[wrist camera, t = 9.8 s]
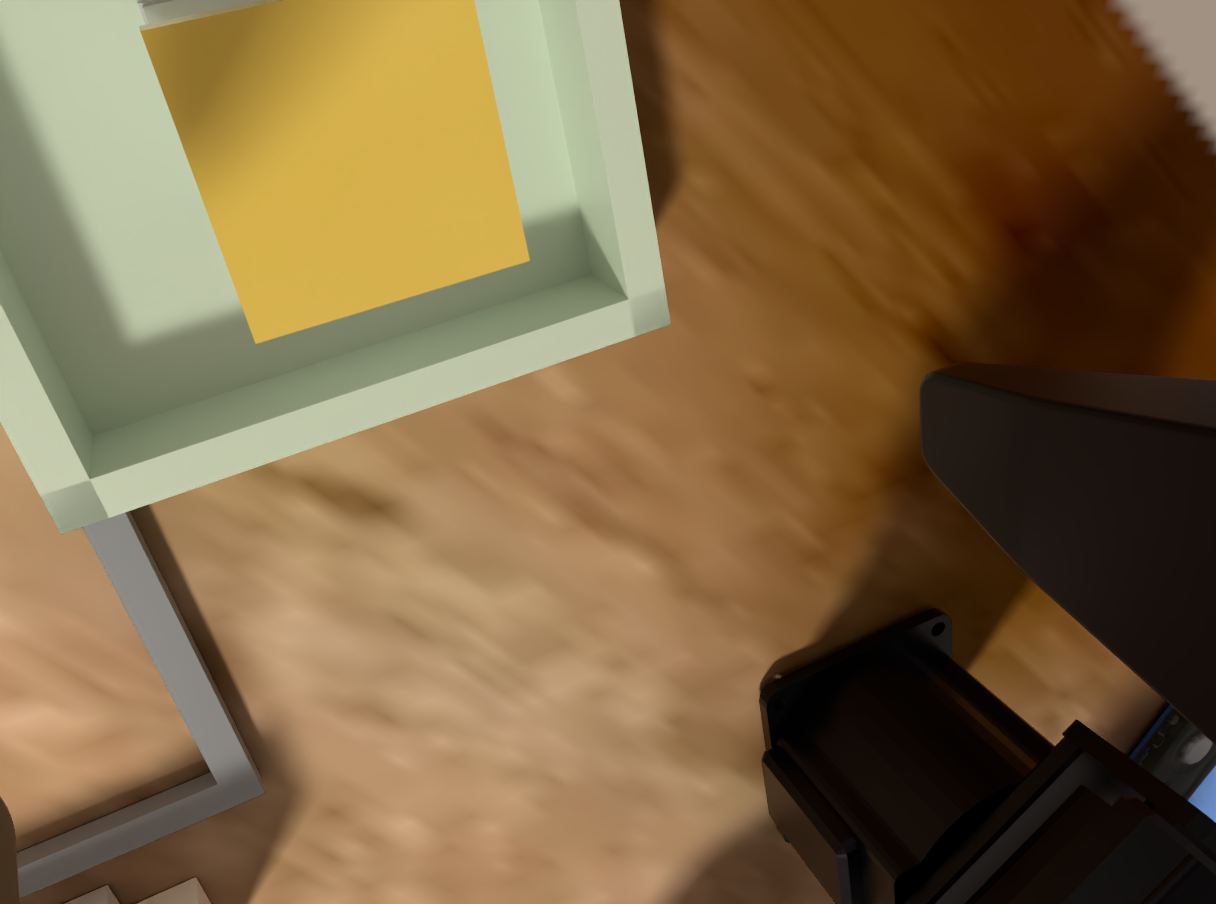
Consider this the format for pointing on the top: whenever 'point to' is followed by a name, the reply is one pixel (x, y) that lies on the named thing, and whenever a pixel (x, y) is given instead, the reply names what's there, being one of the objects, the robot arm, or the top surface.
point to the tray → (205, 294)
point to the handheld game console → (1181, 759)
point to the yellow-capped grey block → (338, 148)
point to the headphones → (196, 704)
